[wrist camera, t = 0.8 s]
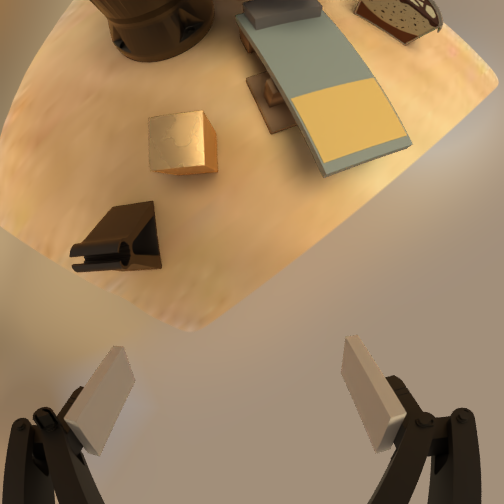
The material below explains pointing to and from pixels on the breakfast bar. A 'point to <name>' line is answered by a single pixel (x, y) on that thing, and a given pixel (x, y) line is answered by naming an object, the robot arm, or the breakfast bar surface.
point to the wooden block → (182, 144)
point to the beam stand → (268, 97)
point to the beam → (323, 83)
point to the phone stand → (121, 241)
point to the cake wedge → (402, 17)
